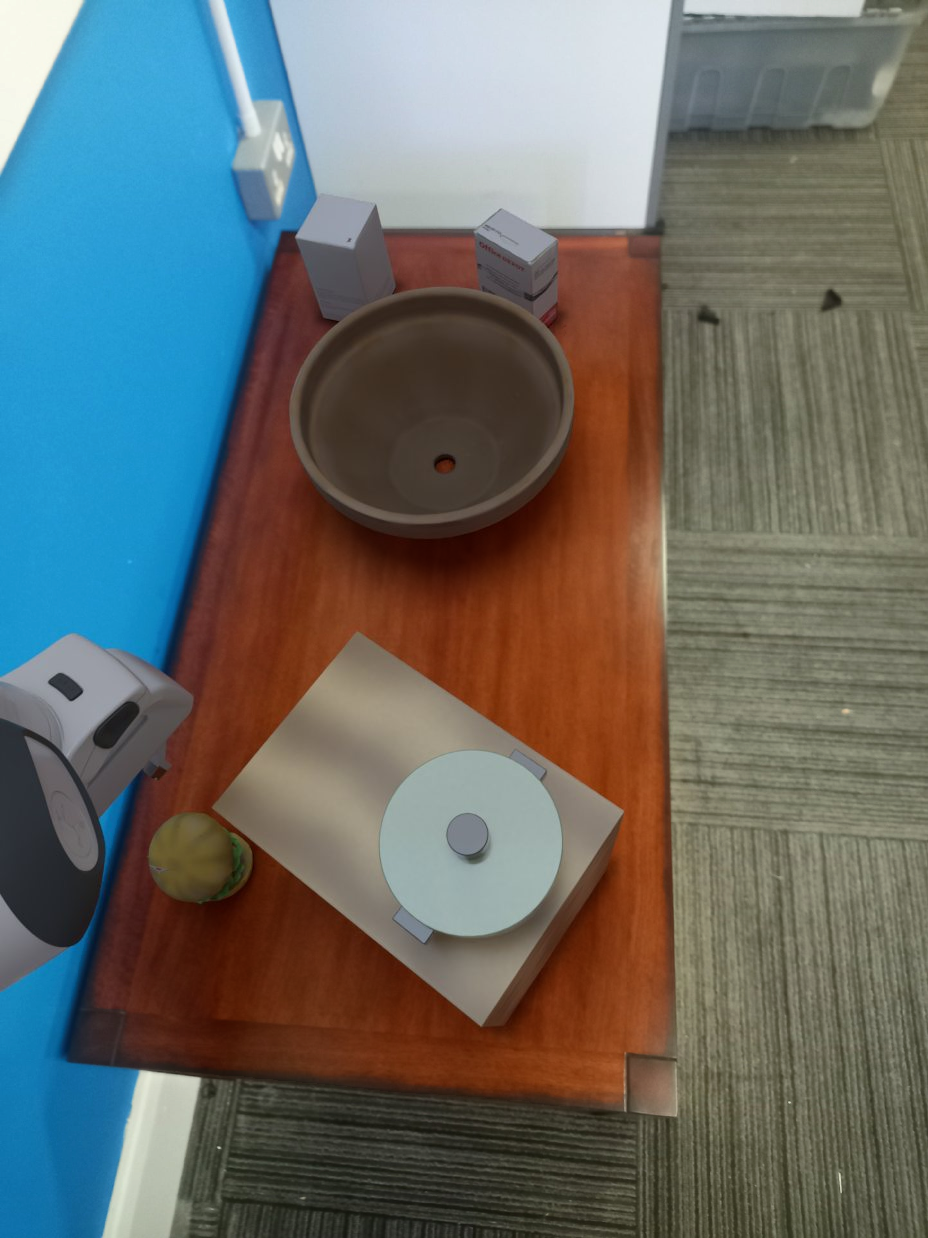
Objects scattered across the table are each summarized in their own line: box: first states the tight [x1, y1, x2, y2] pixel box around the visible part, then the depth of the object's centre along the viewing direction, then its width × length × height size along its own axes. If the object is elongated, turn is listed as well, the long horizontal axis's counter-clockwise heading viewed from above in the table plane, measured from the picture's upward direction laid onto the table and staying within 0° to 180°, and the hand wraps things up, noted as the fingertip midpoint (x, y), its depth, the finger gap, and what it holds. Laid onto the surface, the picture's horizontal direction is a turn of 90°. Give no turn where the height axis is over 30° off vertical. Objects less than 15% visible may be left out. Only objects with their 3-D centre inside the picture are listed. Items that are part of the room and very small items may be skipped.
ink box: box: [473, 207, 559, 328], centre depth 102 cm, size 8×5×12 cm, turn 48°
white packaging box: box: [294, 193, 397, 322], centre depth 105 cm, size 7×7×13 cm
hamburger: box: [146, 811, 254, 905], centre depth 78 cm, size 8×7×12 cm
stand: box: [211, 630, 626, 1028], centre depth 70 cm, size 16×23×24 cm
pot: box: [379, 749, 563, 946], centre depth 54 cm, size 12×11×8 cm
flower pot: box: [288, 286, 575, 540], centre depth 93 cm, size 28×28×13 cm
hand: (113, 821), depth 63 cm, fingers open, 8 cm apart
